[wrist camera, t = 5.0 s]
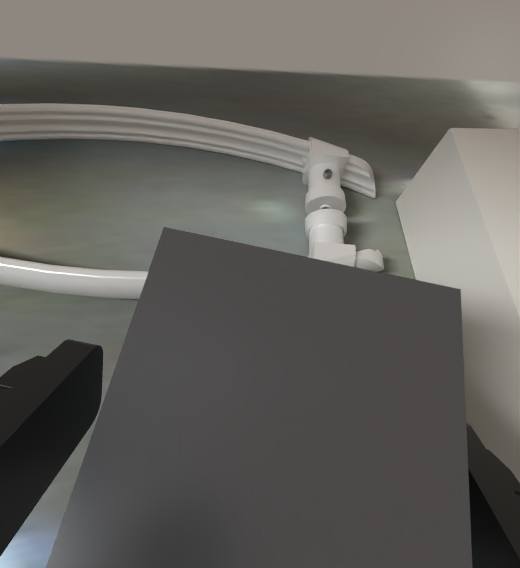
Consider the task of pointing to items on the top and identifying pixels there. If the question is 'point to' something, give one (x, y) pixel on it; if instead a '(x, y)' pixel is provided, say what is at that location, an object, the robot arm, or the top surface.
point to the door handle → (199, 135)
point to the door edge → (476, 267)
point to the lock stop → (277, 420)
